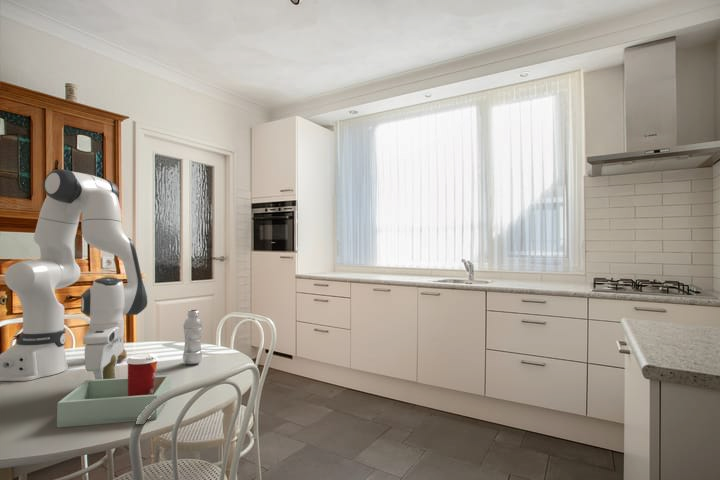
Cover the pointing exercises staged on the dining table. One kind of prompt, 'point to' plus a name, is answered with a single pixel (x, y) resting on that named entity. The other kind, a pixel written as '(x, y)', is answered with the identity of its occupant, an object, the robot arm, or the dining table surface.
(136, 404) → the pale green tray
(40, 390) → the dining table surface
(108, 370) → the cork
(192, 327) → the plastic bottle
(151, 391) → the paper cup
